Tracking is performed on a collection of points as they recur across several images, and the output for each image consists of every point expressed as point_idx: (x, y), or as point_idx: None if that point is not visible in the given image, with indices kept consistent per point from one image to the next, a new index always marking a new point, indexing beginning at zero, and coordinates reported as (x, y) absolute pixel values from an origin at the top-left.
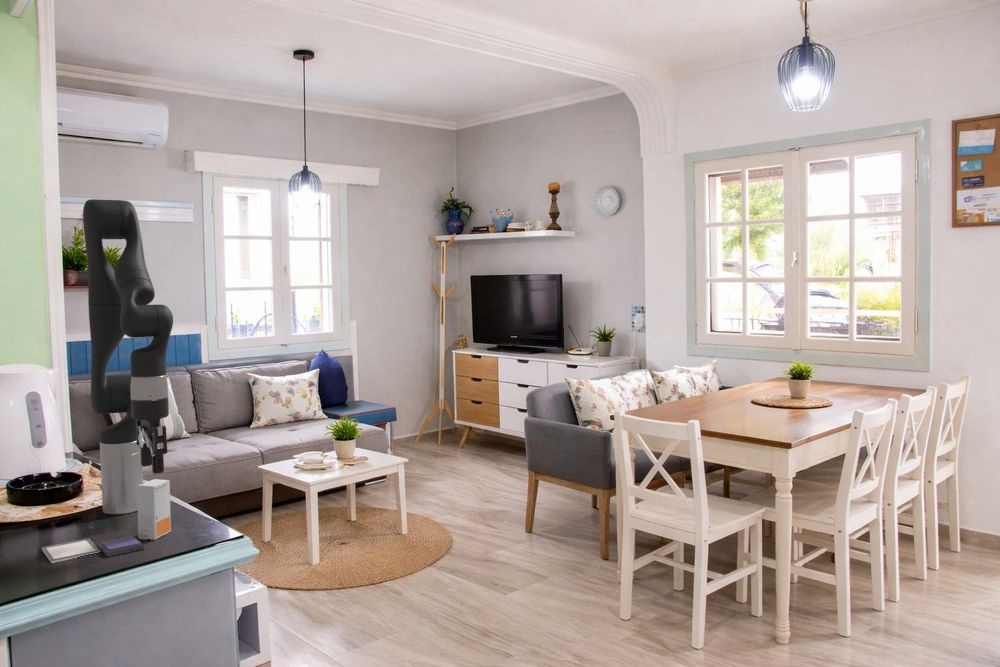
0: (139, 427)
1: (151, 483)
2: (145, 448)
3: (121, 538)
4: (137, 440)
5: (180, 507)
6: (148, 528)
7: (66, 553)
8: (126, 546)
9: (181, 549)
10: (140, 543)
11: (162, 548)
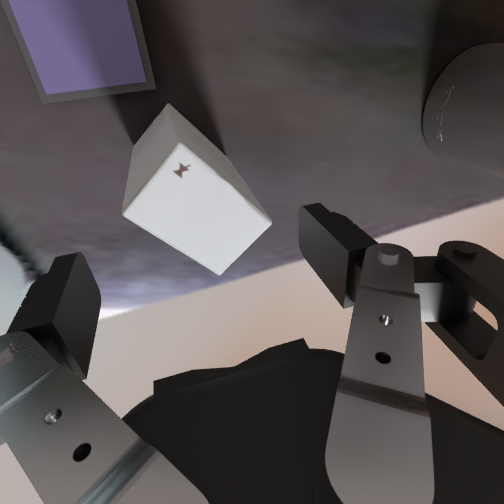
0: (410, 496)
1: (190, 209)
2: (357, 281)
3: (128, 40)
4: (476, 265)
5: (378, 230)
6: (143, 138)
7: None
8: (26, 42)
9: (13, 203)
10: (63, 97)
11: (42, 156)
